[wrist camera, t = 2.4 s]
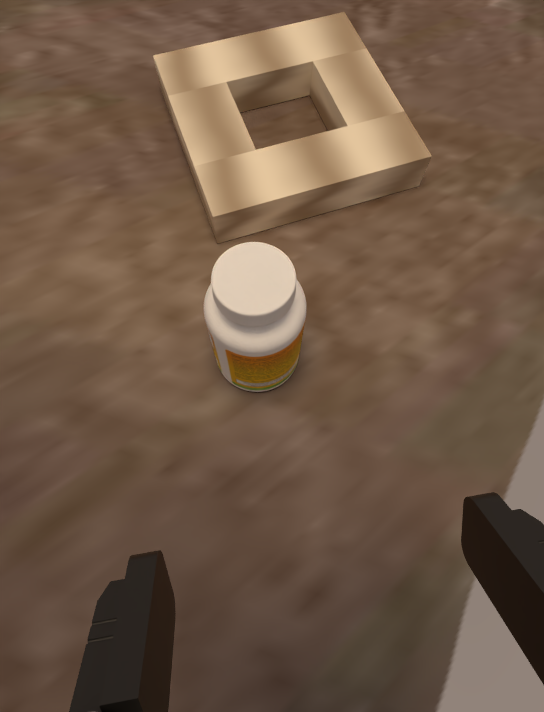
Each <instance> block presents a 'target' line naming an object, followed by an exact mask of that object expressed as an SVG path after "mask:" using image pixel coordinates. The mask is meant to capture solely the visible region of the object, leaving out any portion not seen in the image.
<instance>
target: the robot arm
mask: <svg viewBox="0 0 544 712" xmlns="http://www.w3.org/2000/svg"><path fill="white" fill-rule="evenodd" d="M461 543H462V549H463V553H464V556H465V559H466V561H467V563H468V565H469V567H470V568H471V570H472V571H473V573H474V575H475V576H476V578H477V579H478V581H479V583H480V584H481V586H482V587H483V589H484V591H485V592H486V594H487V595H488V597H489V598H490V600H491V602H492V603H493V605H494V606H495V608H496V610H497V611H498V613H499V614H500V616H501V618H502V619H503V621H504V622H505V624H506V626H507V627H508V629H509V630H510V632H511V633H512V635H513V637H514V638H515V640H516V641H517V643H518V645H519V646H520V648H521V649H522V651H523V653H524V654H525V656H526V657H527V659H528V660H529V662H530V664H531V665H532V667H533V668H534V670H535V671H536V673H537V675H538V676H539V678H540V680H541V681H542V683H543V684H544V525H543V524H542V523H541V521H539V520H537V519H536V518H534V517H533V516H531V515H529V514H528V513H526V512H524V511H523V510H521V509H517V510H511V509H510V508H509V507H508V506H507V504H506V503H505V502H504V501H503V500H502V498H501V497H500V496H499V495H498V494H496V493H494V492H493V493H487V494H481V495H476V496H470V497H466V498H465V499H464V503H463V519H462V536H461ZM174 629H175V600H174V594H173V589H172V586H171V582H170V579H169V575H168V571H167V568H166V564H165V561H164V557H163V554H162V552H161V551H160V550H159V551H154V552H148V553H142V554H137V555H131V556H130V558H129V561H128V566H127V571H126V576H125V579H122V580H117V581H111V582H110V583H109V585H108V586H107V588H106V589H105V591H104V592H103V594H102V595H101V597H100V598H99V600H98V601H97V605H96V609H95V613H94V616H93V620H92V626H91V628H90V632H89V636H88V644H86V648H85V652H84V656H83V660H82V663H81V667H80V671H79V675H78V679H77V683H76V687H75V691H74V695H73V699H72V703H71V707H70V711H69V712H168V707H169V694H170V681H171V668H172V655H173V642H174Z"/></svg>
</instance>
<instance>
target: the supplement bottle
mask: <svg viewBox="0 0 544 712" xmlns="http://www.w3.org/2000/svg"><path fill="white" fill-rule="evenodd" d="M204 316H205V322H206V326H207V329H208V332H209V336H210V339H211V343H212V347H213V351H214V354H215V358H216V361H217V364H218V367H219V369H220V371H221V373H222V374H223V375H224V377H225V378H226V379H227V380H228V381H229V382H230V383H232V384H233V385H235V386H236V387H238V388H241V389H243V390H247V391H252V392H263V391H268V390H271V389H274V388H276V387H278V386H280V385H281V384H283V383H284V382H285V381H286V380H288V379H289V377H290V376H291V375H292V373H293V372H294V370H295V368H296V366H297V363H298V359H299V354H300V347H301V342H302V335H303V330H304V324H305V319H306V299H305V295H304V292H303V289H302V287H301V285H300V283H299V282H298V281H297V279H296V272H295V269H294V266H293V264H292V262H291V260H290V259H289V258H288V257H287V255H286V254H285V253H283V252H282V251H281V250H279V249H278V248H276V247H274V246H272V245H269V244H266V243H261V242H247V243H242V244H239V245H236V246H234V247H232V248H230V249H228V250H227V251H225V252H224V253H223V254H222V255H221V256H220V257H219V258H218V260H217V262H216V263H215V265H214V267H213V270H212V275H211V284H210V286H209V288H208V290H207V292H206V296H205V300H204Z"/></svg>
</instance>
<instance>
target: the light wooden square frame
mask: <svg viewBox="0 0 544 712" xmlns="http://www.w3.org/2000/svg"><path fill="white" fill-rule="evenodd" d="M153 57H154V62H155V66H156V70H157V74H158V79H159V83H160V87H161V91H162V94H163V97H164V99H165V102H166V105H167V107H168V110H169V113H170V116H171V118H172V121H173V124H174V127H175V129H176V132H177V135H178V138H179V140H180V143H181V146H182V148H183V151H184V154H185V157H186V159H187V162H188V165H189V168H190V170H191V173H192V176H193V179H194V181H195V184H196V187H197V190H198V192H199V195H200V198H201V200H202V203H203V206H204V209H205V211H206V214H207V217H208V220H209V222H210V225H211V228H212V231H213V233H214V236H215V239H216V241H217V244H218V243H222V242H225V241H229V240H232V239H236V238H239V237H243V236H246V235H250V234H253V233H257V232H260V231H264V230H267V229H271V228H274V227H278V226H281V225H285V224H288V223H292V222H295V221H299V220H302V219H306V218H309V217H313V216H316V215H320V214H323V213H327V212H330V211H334V210H337V209H341V208H344V207H348V206H351V205H355V204H358V203H362V202H365V201H369V200H372V199H376V198H379V197H383V196H386V195H390V194H393V193H397V192H400V191H404V190H407V189H411V188H414V187H418V186H419V185H420V182H421V180H422V178H423V175H424V173H425V171H426V168H427V166H428V164H429V161H430V159H431V157H432V156H431V154H430V153H429V151H428V149H427V148H426V146H425V144H424V143H423V141H422V139H421V138H420V136H419V135H418V133H417V131H416V130H415V128H414V126H413V125H412V123H411V121H410V120H409V118H408V116H407V115H406V113H405V111H404V110H403V108H402V107H401V105H400V103H399V102H398V100H397V98H396V97H395V95H394V93H393V92H392V90H391V88H390V87H389V85H388V83H387V82H386V80H385V78H384V77H383V75H382V74H381V72H380V70H379V69H378V67H377V65H376V64H375V62H374V60H373V59H372V57H371V55H370V54H369V52H368V50H367V49H366V47H365V45H364V44H363V42H362V41H361V39H360V37H359V36H358V34H357V32H356V31H355V29H354V27H353V26H352V24H351V22H350V21H349V19H348V17H347V16H346V14H345V13H344V12H343V13H338V14H334V15H329V16H325V17H321V18H316V19H312V20H307V21H303V22H299V23H294V24H290V25H285V26H281V27H277V28H272V29H268V30H263V31H259V32H255V33H250V34H246V35H241V36H237V37H233V38H228V39H224V40H219V41H215V42H211V43H206V44H202V45H197V46H193V47H189V48H184V49H180V50H175V51H171V52H167V53H162V54H158V55H154V56H153ZM309 95H310V97H311V99H312V101H313V103H314V105H315V107H316V109H317V111H318V113H319V115H320V117H321V118H322V120H323V122H324V124H325V126H326V128H327V130H328V131H327V132H323V133H319V134H315V135H311V136H307V137H304V138H300V139H296V140H292V141H288V142H285V143H281V144H277V145H273V146H269V147H265V148H262V149H258V150H256V149H255V147H254V145H253V142H252V140H251V138H250V135H249V133H248V131H247V129H246V126H245V124H244V122H243V119H242V117H241V115H240V113H241V112H245V111H249V110H253V109H257V108H261V107H265V106H269V105H273V104H277V103H281V102H285V101H289V100H293V99H297V98H301V97H305V96H309Z"/></svg>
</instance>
